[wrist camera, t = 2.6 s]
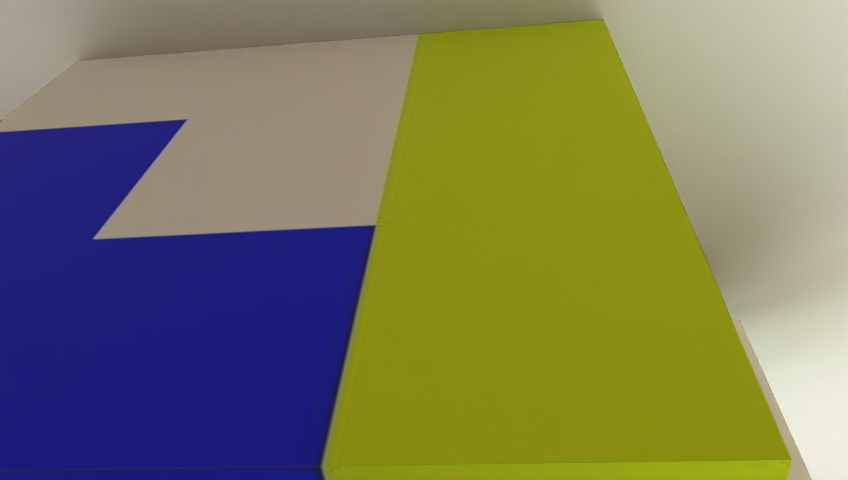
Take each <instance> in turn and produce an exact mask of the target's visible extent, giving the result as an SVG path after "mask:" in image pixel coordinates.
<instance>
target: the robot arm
mask: <svg viewBox="0 0 848 480" xmlns="http://www.w3.org/2000/svg"><path fill="white" fill-rule="evenodd" d="M732 322H733V324H734V326H735V329H736V331H737V333H738V336H739V338H740V340H741V343H742V345H743V347H744V350H745V352H746V354H747V357H748V359H749V361H750V364H751V366H752V368H753V371H754V373H755V375H756V378H757V380H758V382H759V385H760V387H761V389H762V392H763V394H764V396H765V399H766V401H767V403H768V406H769V408H770V410H771V413H772V415H773V417H774V420H775V422H776V424H777V427H778V429H779V431H780V434H781V436H782V438H783V441H784V443H785V445H786V448H787V450H788V452H789V455H790V457H791V459H792V461H791V465H790V469H789V473H788V477H787V480H812V479H811V477H810V475H809V473H808V470H807V468H806V466H805V464H804V462H803V459H802V457H801V455H800V453H799V450H798V448H797V446H796V444H795V442H794V439H793V437H792V435H791V433H790V431H789V428H788V426H787V424H786V422H785V419H784V417H783V415H782V413H781V411H780V408H779V406H778V404H777V402H776V399H775V397H774V395H773V393H772V391H771V388H770V386H769V384H768V382H767V379H766V377H765V375H764V373H763V371H762V368H761V366H760V364H759V362H758V360H757V357H756V355H755V353H754V351H753V348H752V346H751V344H750V342H749V340H748V337H747V335H746V333H745V331H744V328H743V326H742V324H741V322H740V320H732Z"/></svg>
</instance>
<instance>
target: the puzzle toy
mask: <svg viewBox="0 0 848 480" xmlns="http://www.w3.org/2000/svg"><path fill="white" fill-rule="evenodd" d="M791 461H792V459H791V457H790V455H789V452H788V450H787V448H786V445H785V443H784V441H783V438H782V436H781V434H780V431H779V429H778V427H777V424H776V422H775V420H774V417H773V415H772V413H771V410H770V408H769V406H768V403H767V401H766V399H765V396H764V394H763V392H762V389H761V387H760V385H759V382H758V380H757V378H756V375H755V373H754V371H753V368H752V366H751V364H750V361H749V359H748V357H747V354H746V352H745V350H744V347H743V345H742V343H741V340H740V338H739V336H738V333H737V331H736V329H735V326H734V324H733V322H732V319H731V317H730V315H729V312H728V310H727V308H726V305H725V303H724V301H723V298H722V296H721V294H720V291H719V289H718V287H717V284H716V282H715V280H714V277H713V275H712V273H711V270H710V268H709V266H708V263H707V261H706V259H705V256H704V254H703V252H702V249H701V247H700V245H699V242H698V240H697V238H696V235H695V233H694V231H693V228H692V226H691V224H690V221H689V219H688V217H687V214H686V212H685V210H684V207H683V205H682V203H681V200H680V198H679V196H678V193H677V191H676V188H675V186H674V184H673V181H672V179H671V177H670V174H669V172H668V170H667V167H666V165H665V163H664V160H663V158H662V156H661V153H660V151H659V149H658V146H657V144H656V142H655V139H654V137H653V135H652V132H651V130H650V128H649V125H648V123H647V121H646V118H645V116H644V114H643V111H642V109H641V107H640V104H639V102H638V100H637V97H636V95H635V93H634V90H633V88H632V86H631V83H630V81H629V79H628V76H627V74H626V72H625V69H624V67H623V65H622V62H621V60H620V58H619V55H618V53H617V51H616V48H615V46H614V44H613V41H612V39H611V37H610V34H609V32H608V30H607V27H606V25H605V23H604V20H603V19H601V20H588V21H575V22H563V23H550V24H537V25H525V26H512V27H499V28H486V29H474V30H461V31H448V32H436V33H423V34H410V35H397V36H385V37H372V38H359V39H347V40H334V41H321V42H309V43H296V44H283V45H270V46H258V47H245V48H232V49H220V50H207V51H194V52H182V53H169V54H156V55H143V56H131V57H118V58H105V59H93V60H80V61H78V62H76V63H75V64H74V65H72V66H71V67H70V68H69V69H67V70H66V71H65V72H63V73H62V74H61V75H60V76H58V77H57V78H56V79H55V80H53V81H52V82H51V83H49V84H48V85H47V86H46V87H44V88H43V89H42V90H40V91H39V92H38V93H37V94H35V95H34V96H33V97H31V98H30V99H29V100H28V101H26V102H25V103H24V104H23V105H21V106H20V107H19V108H17V109H16V110H15V111H14V112H12V113H11V114H10V115H8V116H7V117H6V118H5V119H3V120H2V121H1V122H0V480H787V477H788V473H789V469H790V465H791Z"/></svg>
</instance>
